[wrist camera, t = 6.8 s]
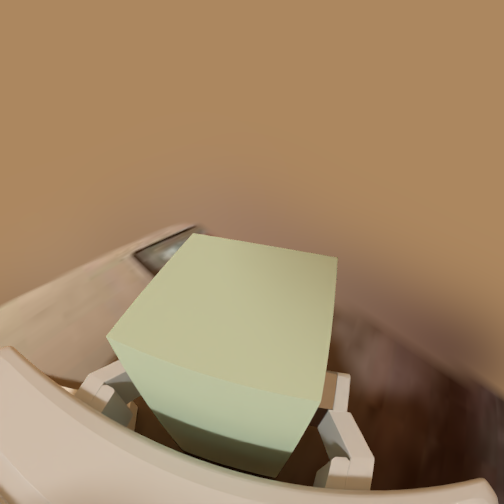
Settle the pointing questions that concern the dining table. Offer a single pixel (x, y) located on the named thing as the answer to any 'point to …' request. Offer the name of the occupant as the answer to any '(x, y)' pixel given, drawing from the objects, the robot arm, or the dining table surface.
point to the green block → (232, 348)
